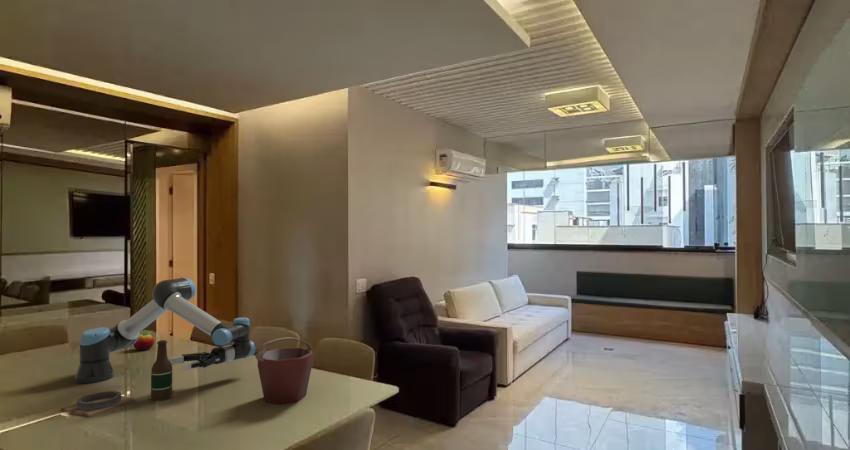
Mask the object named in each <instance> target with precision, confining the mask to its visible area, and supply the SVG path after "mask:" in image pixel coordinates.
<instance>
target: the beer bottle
mask: <svg viewBox="0 0 850 450" xmlns="http://www.w3.org/2000/svg"><path fill="white" fill-rule="evenodd" d="M156 344H157V349H156V352H157V353H156V360H155V361H154V363H153V365H152V367H151V371H150V372H151V373H150V374H151V375H150V398H151V400H152V401H164V400H167V399H168V400H169V399H170V398H171V397H172V395H173V365H171V362H170V361H169V360H168V359H169V358H168V349H167V348H168V347H167V346H168V341H167V340H164V339H162V340H158V341H157V343H156Z"/></svg>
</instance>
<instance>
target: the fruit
mask: <svg viewBox="0 0 850 450" xmlns="http://www.w3.org/2000/svg"><path fill="white" fill-rule="evenodd" d="M154 344H155V339H154V337H153V335H151V332H150V331H146V332H142V333H141V334H139V336H138V339H137V341H136V342H135V343H134V344H133V345H132V346H133V347H134V349H135V350H136V351H138V352H140V351H141V352H143V351H148V350H150V349H152V348H153V346H154Z"/></svg>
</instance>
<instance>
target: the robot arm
mask: <svg viewBox="0 0 850 450" xmlns="http://www.w3.org/2000/svg"><path fill="white" fill-rule="evenodd" d="M196 289H197V288H196V285H195V282H194V281H193V280H192V279H191V278H188V277H179V278H173V279H165V280H160V281H159V282H157V283H156V284H155V285H154V287H153V289H152V292H151V297H152V300H150V301H149V302H148V303H146V304H145V305H144V306H143V307H142V308H140V310H138V311H137V312H135V314H133V315H132V316H131V317H129V318H128V319H123V320H121V321H119V322H118V323H117V324H115V325H114V326H113V327H111V328H109V327H106V326H103V327H102V326H101V327H95V328H91V329H87V330H85V331H84V332H82V333H81V334H80V337H79V366H78V368H77V371H76V373H75V376H74V382H75V383H76V384H91V383H98V382H102V381H107V380H109V379H111V378H113V377H114V369H113V367H112V363H111V361H110V353H113V352H116V351H119V350H124V349H127V348H129V347H131V346H134V345H133V344H134V343H135V342H136V341H137V339H138V336H139V335H140V333H141V332H142V331H143V330H145V329H146V328H147V327H149V325H151V324H152V323H153V322H155V321H156V320H157V319H158V318H159V317H161V316H162V315H164V313H166V312H168V311H171V312H172V313H173V314H176V316H178V317H180V318H182V319H183V320H185V321H186V322H188V323H190V324H191V325H192V326H194V327H196V329H197V328H198V329H199V330H201V331H202V332H204V334H206V335H208V336H210V337H211V341H212V342H213V344H214V345H216V346H218V347H213V348H212V349H211V350H210V353H209V352H207V351H202V352H196V353H195V352H194V353H184V354H181V356H176V357H170V358H168V360H169V361H170V362H171V365H172V366H173V365H176V364H181V363H182V365H181V366H182V367H181V369H182V372H183V371H188V370H192V369H196V368H203V369H205V368H207V367H210V366H212V365H219V364H220V365H221V364H223V363H230V362H231V361H235V360H236V361H237V360H241V359H246V358H249V357H251V356H253V355H254V354H255V352H256V346H255V343H254V342H253V340H250V338H251V337H250V333H251V332H250V331H251V329H250V328H251V325H250V318H248V317H237V318H236V317H235V318H234V319H232V324H231V325H226V323H223V322H222V321H220V320H218V319H217V318H215V317H214V316H213V315H211V314H209V313H208V312H206V311H205V310H203V309H201V308H199V307H198V306H197V305H195V304H193V303H192V302H190V301H189V300H192V299H193V298H194V297H195V295H196ZM231 343H232V344H231ZM185 362H186V363H185Z"/></svg>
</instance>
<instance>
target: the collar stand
mask: <svg viewBox="0 0 850 450" xmlns="http://www.w3.org/2000/svg"><path fill="white" fill-rule="evenodd" d="M134 402H135V403H136V402H137V398H134V397H130V396H129V397H128V396H124V395H122V393H121V391H117V390H105V391H97V392H92V393H90V394H86V395H83V396H81V397H79V398H78V399H76V402H75V403H71V404H68V405H65V406H62V407H60V411H61V412H62V411H63V412H67V413H71V414H74V415H79V416H83V417H88V418H92V417H95V416H97V415H100V414H103V413H106V412H109V411H112V410H115V409H118V408H121V407H123V406H126V405H129V404H132V403H134Z"/></svg>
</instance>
